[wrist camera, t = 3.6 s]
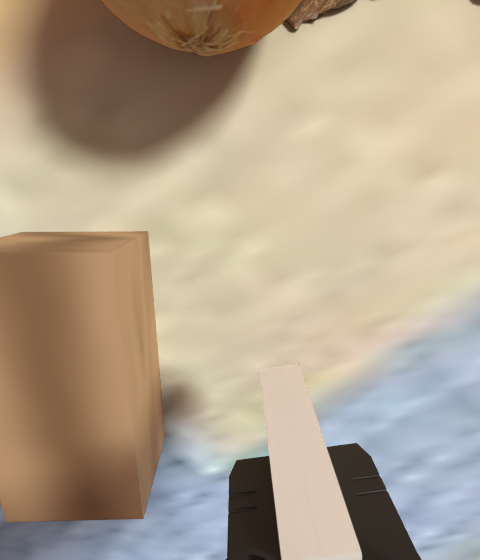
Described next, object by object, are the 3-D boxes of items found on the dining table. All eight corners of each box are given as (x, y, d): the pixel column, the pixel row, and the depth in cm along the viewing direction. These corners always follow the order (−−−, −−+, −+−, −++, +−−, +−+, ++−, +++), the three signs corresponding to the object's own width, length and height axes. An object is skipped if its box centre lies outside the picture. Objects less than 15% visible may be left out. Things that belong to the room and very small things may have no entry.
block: (63, 435, 23) (5, 521, 17) (24, 231, 19) (-68, 254, 13) (165, 433, 23) (143, 518, 17) (148, 230, 19) (112, 252, 13)
